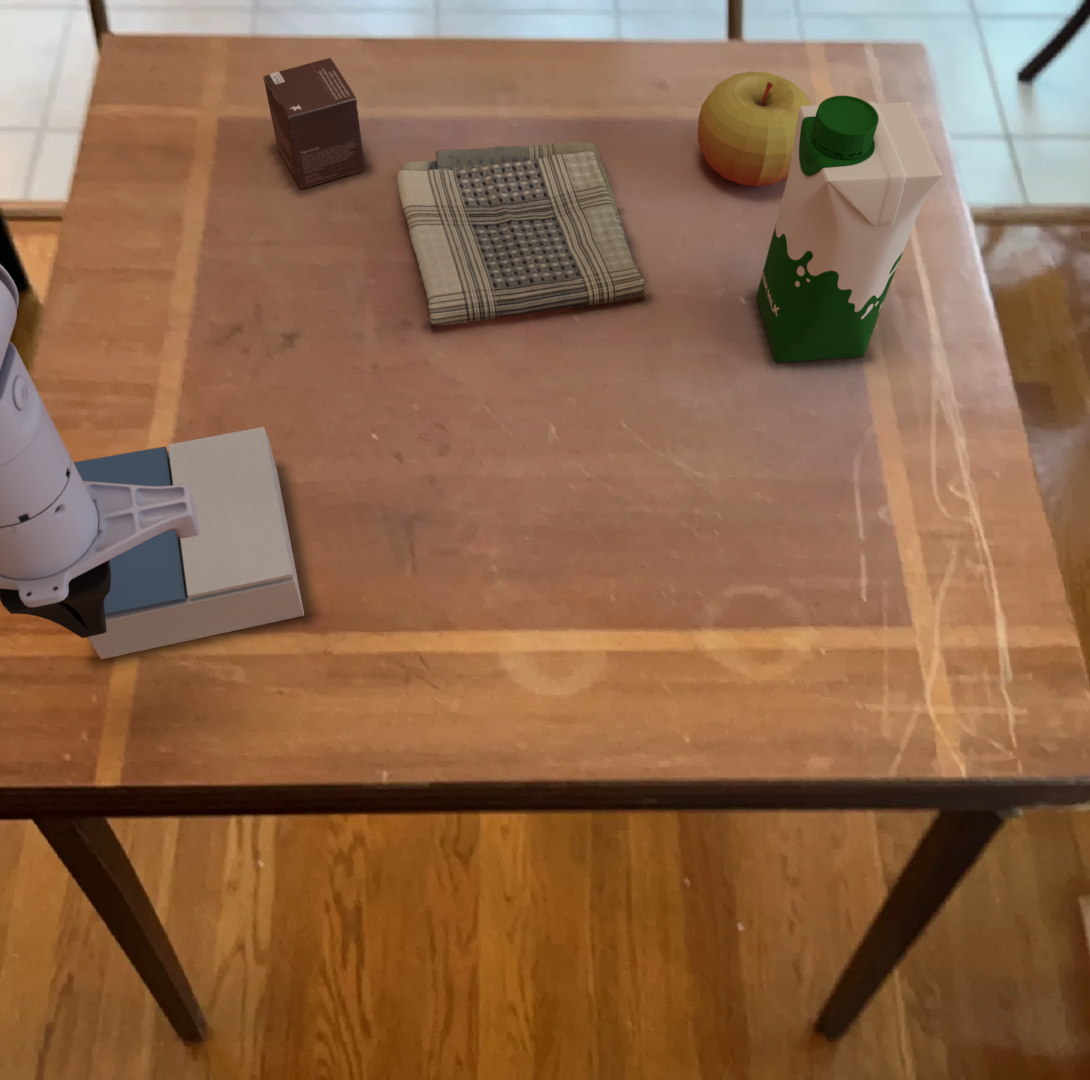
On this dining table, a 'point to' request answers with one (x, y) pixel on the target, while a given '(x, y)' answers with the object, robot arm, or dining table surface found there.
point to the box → (315, 122)
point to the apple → (751, 127)
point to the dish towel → (516, 231)
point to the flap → (154, 563)
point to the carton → (220, 549)
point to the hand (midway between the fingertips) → (92, 620)
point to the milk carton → (842, 225)
